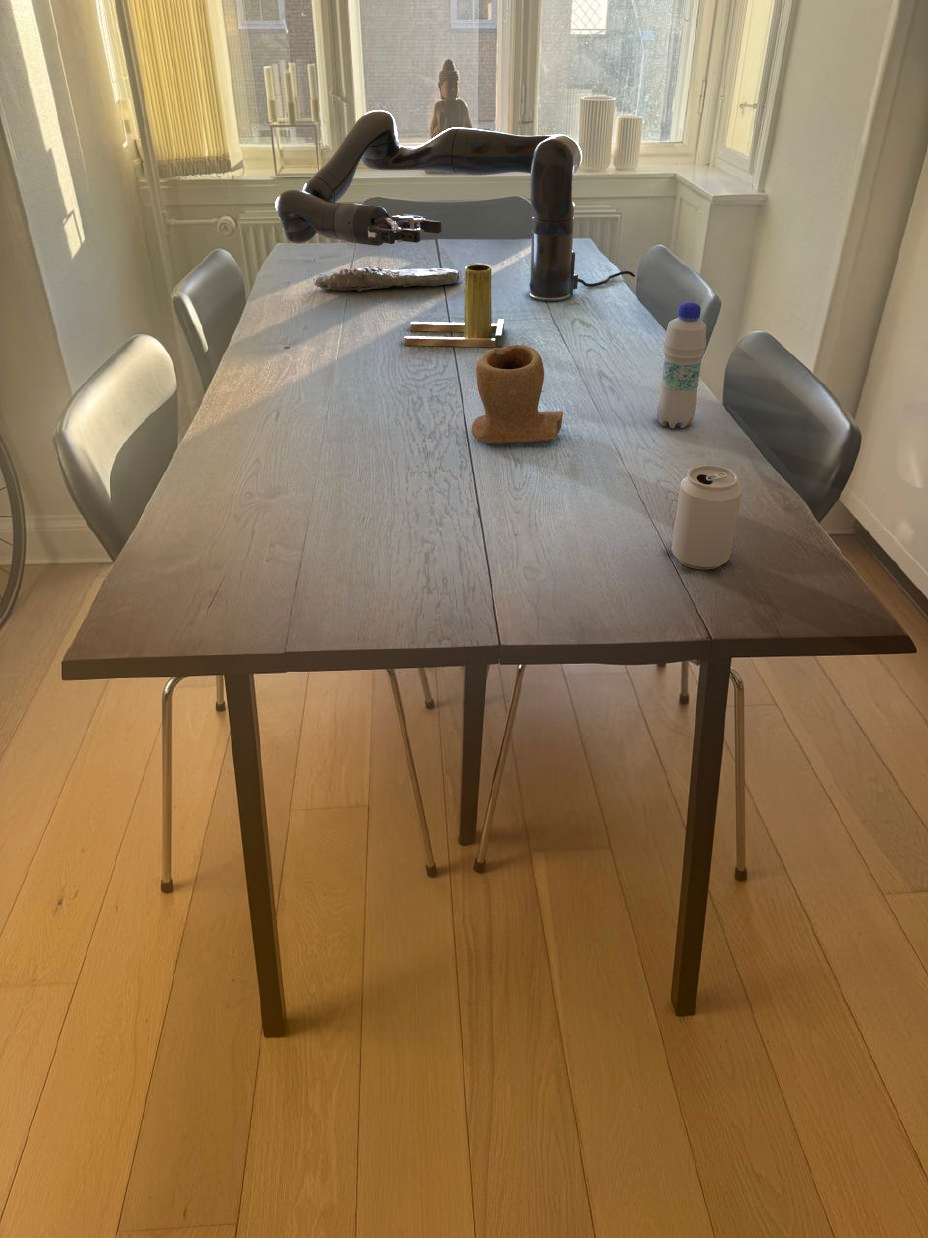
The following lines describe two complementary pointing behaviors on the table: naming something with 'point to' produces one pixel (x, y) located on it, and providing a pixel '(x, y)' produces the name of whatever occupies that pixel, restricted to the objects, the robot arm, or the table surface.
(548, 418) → the clay pipe
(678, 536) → the can
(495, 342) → the u-shaped frame
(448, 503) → the table surface
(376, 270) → the long grey stone
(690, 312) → the bottle
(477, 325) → the vase
